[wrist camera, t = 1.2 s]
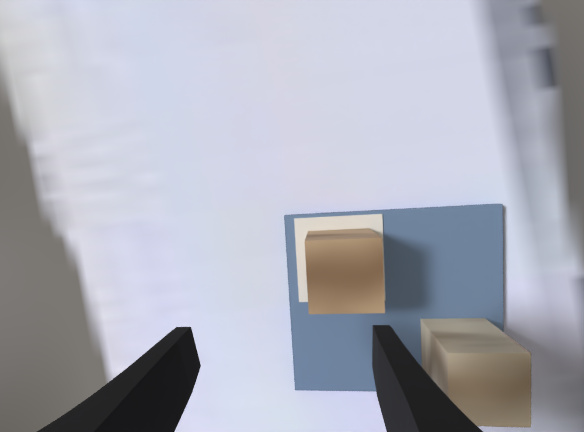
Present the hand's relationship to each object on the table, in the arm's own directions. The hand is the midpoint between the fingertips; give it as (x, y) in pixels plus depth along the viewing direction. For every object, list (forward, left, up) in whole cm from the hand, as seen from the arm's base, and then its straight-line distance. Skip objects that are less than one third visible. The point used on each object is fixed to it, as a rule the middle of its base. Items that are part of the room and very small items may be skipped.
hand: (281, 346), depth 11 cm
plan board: (-3, -7, -11) cm, 13 cm away
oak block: (+1, -3, -10) cm, 11 cm away
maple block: (-6, -11, -11) cm, 16 cm away
